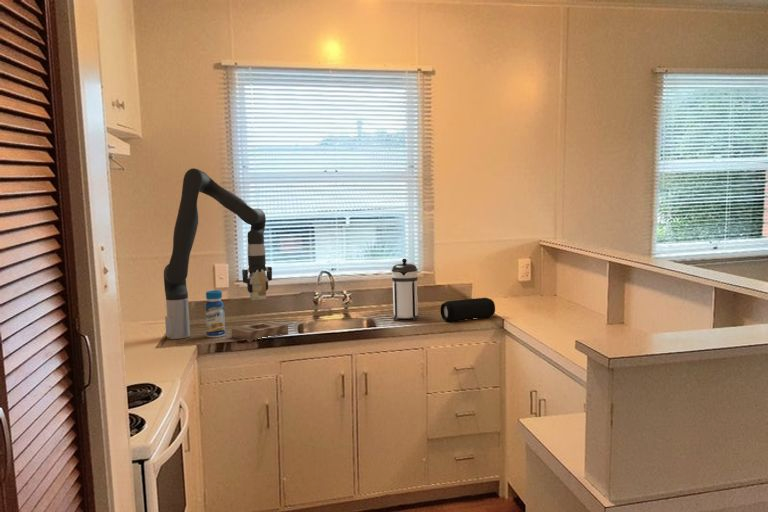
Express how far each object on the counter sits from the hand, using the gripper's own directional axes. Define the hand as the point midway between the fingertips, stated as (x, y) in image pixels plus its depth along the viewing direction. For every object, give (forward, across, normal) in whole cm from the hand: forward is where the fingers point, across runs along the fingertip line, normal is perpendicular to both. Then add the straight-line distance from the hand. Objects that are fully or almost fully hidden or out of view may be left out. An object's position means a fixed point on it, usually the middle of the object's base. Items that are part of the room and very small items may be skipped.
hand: (258, 291), depth 249 cm
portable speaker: (+20, +84, -52) cm, 101 cm away
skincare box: (+4, 0, 0) cm, 4 cm away
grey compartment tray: (+20, 0, 0) cm, 20 cm away
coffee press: (+20, +67, -26) cm, 74 cm away
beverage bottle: (+20, -13, +15) cm, 28 cm away
